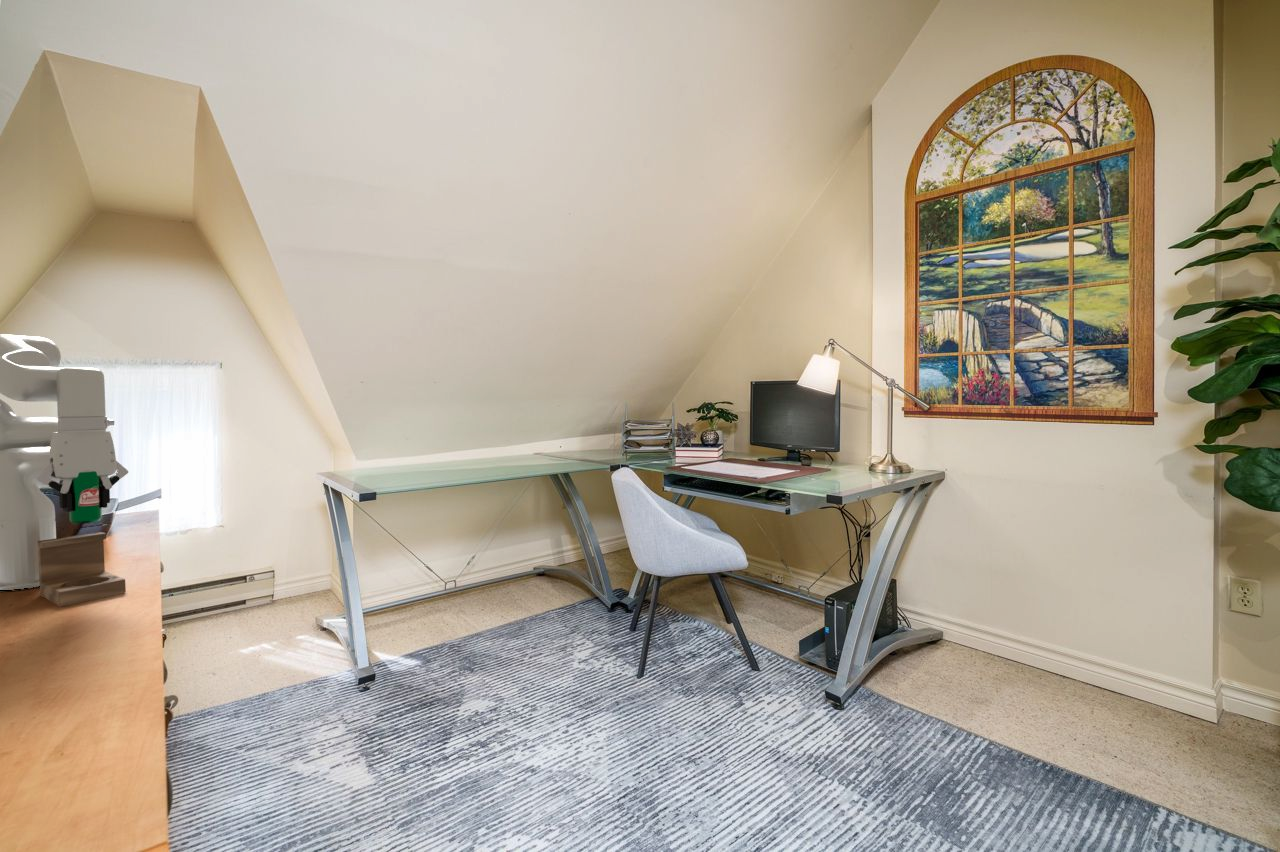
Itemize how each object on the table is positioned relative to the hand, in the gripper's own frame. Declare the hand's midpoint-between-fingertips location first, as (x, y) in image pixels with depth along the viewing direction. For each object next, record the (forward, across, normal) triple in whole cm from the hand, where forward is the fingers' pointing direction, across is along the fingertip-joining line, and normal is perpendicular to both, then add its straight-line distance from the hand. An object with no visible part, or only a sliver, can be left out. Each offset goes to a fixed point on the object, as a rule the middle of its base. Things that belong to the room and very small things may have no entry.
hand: (85, 508), depth 128 cm
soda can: (+3, 0, 0) cm, 3 cm away
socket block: (+19, 0, -2) cm, 19 cm away
